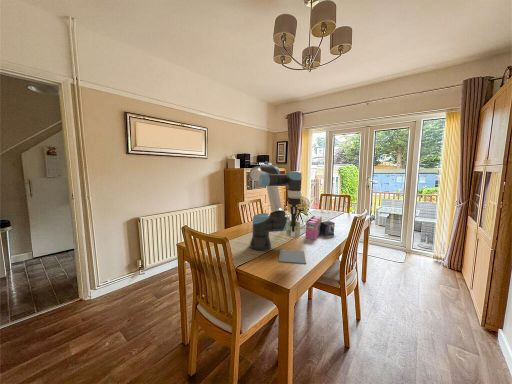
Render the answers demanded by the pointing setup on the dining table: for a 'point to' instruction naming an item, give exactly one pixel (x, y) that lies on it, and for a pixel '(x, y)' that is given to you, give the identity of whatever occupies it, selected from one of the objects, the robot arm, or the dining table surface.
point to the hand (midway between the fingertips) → (292, 235)
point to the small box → (327, 228)
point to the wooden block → (297, 229)
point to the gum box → (313, 227)
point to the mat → (292, 256)
